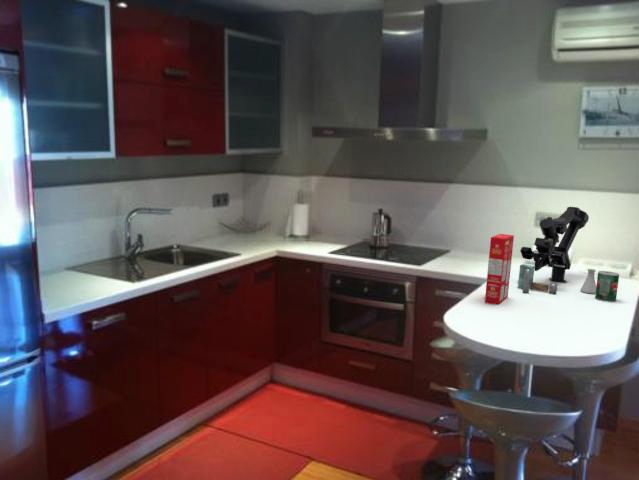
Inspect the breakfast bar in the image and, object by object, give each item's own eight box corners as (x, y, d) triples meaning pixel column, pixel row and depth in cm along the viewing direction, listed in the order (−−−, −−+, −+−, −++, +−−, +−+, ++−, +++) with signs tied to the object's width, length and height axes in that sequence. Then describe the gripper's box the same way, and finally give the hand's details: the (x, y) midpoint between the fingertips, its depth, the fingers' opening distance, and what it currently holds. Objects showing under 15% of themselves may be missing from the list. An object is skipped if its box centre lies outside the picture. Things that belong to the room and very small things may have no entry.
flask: (594, 291, 259) (597, 268, 258) (600, 295, 252) (603, 271, 251) (577, 289, 260) (580, 267, 259) (583, 293, 253) (585, 270, 251)
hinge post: (548, 292, 251) (549, 283, 251) (555, 293, 251) (556, 283, 250) (549, 294, 248) (550, 284, 248) (557, 294, 248) (558, 285, 247)
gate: (548, 291, 252) (551, 268, 251) (546, 292, 249) (549, 269, 248) (520, 286, 259) (522, 264, 258) (517, 287, 256) (520, 265, 255)
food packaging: (494, 295, 240) (500, 233, 237) (507, 297, 238) (513, 235, 234) (484, 302, 228) (490, 237, 224) (498, 304, 225) (505, 239, 221)
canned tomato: (618, 302, 239) (621, 275, 238) (597, 300, 241) (600, 273, 239) (613, 298, 247) (616, 272, 245) (592, 296, 249) (595, 270, 247)
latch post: (522, 292, 249) (524, 268, 248) (528, 292, 249) (530, 269, 247) (523, 293, 247) (525, 269, 245) (529, 293, 246) (531, 270, 245)
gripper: (524, 228, 266) (510, 255, 259) (566, 234, 253) (553, 262, 247) (530, 244, 273) (516, 271, 266) (571, 251, 260) (558, 278, 254)
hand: (535, 270), depth 258 cm, fingers closed
